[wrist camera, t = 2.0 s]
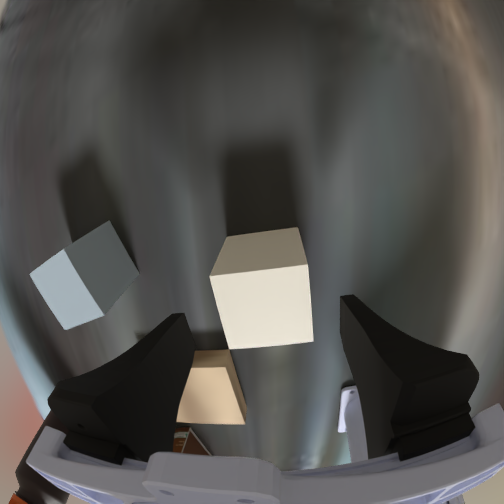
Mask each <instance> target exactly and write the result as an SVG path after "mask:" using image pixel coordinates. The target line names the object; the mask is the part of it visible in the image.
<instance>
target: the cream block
mask: <svg viewBox="0 0 504 504" xmlns="http://www.w3.org/2000/svg"><path fill="white" fill-rule="evenodd" d="M210 280H211V284H212V288H213V292H214V296H215V299H216V303H217V307H218V311H219V314H220V318H221V322H222V325H223V329H224V333H225V336H226V340H227V343H228V347H229V349H241V348H255V347H267V346H277V345H287V344H296V343H305V342H313V327H312V311H311V297H310V285H309V273H308V263H307V260H306V256H305V252H304V248H303V244H302V241H301V237H300V233H299V229H298V227H295V228H287V229H280V230H272V231H264V232H257V233H250V234H242V235H235V236H228V237H227V238H226V240H225V242H224V244H223V247H222V249H221V251H220V253H219V256H218V258H217V260H216V262H215V265H214V267H213V269H212V272H211V274H210Z"/></svg>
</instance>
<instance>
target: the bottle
mask: <svg viewBox="0 0 504 504" xmlns="http://www.w3.org/2000/svg"><path fill="white" fill-rule="evenodd" d="M45 426H48V427H51V428H54V429H56V430H59V431H61V432H63V433H64V434H66V435H67V433H68V431H69V430H68V429H67V428H66V427H65V425H64V424H63V423H62V422H61V421H60V420H59V419H58V418H57V416H56V415H55V414H54V413H53V412H52V410H51V411H50V412H49V414H48V416H47V417H46V419H45V420H44V422H43V424H42V425H41V427H40V429H39V430H38V432H37V434H36V435H35V437H34V439H33V440H32V442H31V444H30V446H29V447H28V449H27V451H26V453H25V454H24V456H23V458H22V460H21V462H20V464H19V465H18V467H17V469H16V472H15V473H16V477H17V480H18V483H19V485H20V487H19V490H18V492H16V491H15V492H16V495H15V494H13V495H12V498H11V500H10V502H9V504H66V502H67V499H68V497H69V494H70V493H67V492H65V491H63V490H62V489H60V488H58V487H56V486H55V485H54V484H52V483H51V482H50V481H48V480H47V479H46V478H44V477H43V476H42V475H40V474H39V473H38V472H37V471H35V470H34V469H33V468H32V467H31V466H29V465H28V464H27V463H26V460H27V458H28V456H29V454H30V453H31V451H32V449H33V447H34V445H35V444H36V442H37V440H38V438H39V437H40V435H41V433H42V431H43V430H44V428H45Z"/></svg>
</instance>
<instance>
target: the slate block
mask: <svg viewBox="0 0 504 504" xmlns="http://www.w3.org/2000/svg"><path fill="white" fill-rule="evenodd" d="M139 274H140V273H139V272H138V270H137V268H136V267H135V265H134V263H133V261H132V260H131V258H130V256H129V255H128V253H127V251H126V249H125V248H124V246H123V244H122V242H121V240H120V239H119V237H118V235H117V233H116V231H115V229H114V228H113V226H112V224H111V222H110V220H109V221H107V222H106V223H104V224H102V225H101V226H99V227H97V228H96V229H94V230H92V231H91V232H89V233H88V234H86V235H84V236H83V237H81V238H80V239H78V240H77V241H75V242H73V243H72V244H70V245H69V246H67V247H66V248H64V249H63V250H61V251H60V252H59V253H57V254H56V255H54V256H53V257H52V258H50V259H49V260H48V261H46V262H45V263H44V264H42V265H41V266H40V267H38V268H37V269H36V270H34V271H33V272H32V273H30V276H31V278H32V280H33V281H34V283H35V285H36V286H37V288H38V290H39V291H40V293H41V295H42V296H43V298H44V300H45V301H46V303H47V304H48V306H49V307H50V309H51V310H52V312H53V313H54V315H55V316H56V318H57V319H58V321H59V322H60V324H61V325H62V326H63V328H64V329H65V330H67V329H69V328H72V327H75V326H77V325H80V324H83V323H85V322H88V321H91V320H93V319H96V318H99V317H101V316H104V315H105V314H106V313H107V312H108V310H109V309H110V308H111V307H112V306H113V304H114V303H115V302H116V301H117V300H118V298H119V297H120V296H121V295H122V294H123V293H124V291H125V290H126V289H127V288H128V287H129V286H130V284H131V283H132V282H133V281H134V280H135V279H136V278H137V276H138V275H139Z"/></svg>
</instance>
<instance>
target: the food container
mask: <svg viewBox="0 0 504 504" xmlns="http://www.w3.org/2000/svg"><path fill="white" fill-rule="evenodd" d="M173 452H175V453H184V454H195V455H208V456H212V455H211V453H210V452H209V451H208V450H207V449H206V447H205V446H204V445H203V443H202V442H201V441H200V440H199V438H198V437H197V436H196V434H195V433H194V432H193V430H192V429H191V428H190V427H180V428H175V434H174V443H173Z"/></svg>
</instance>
